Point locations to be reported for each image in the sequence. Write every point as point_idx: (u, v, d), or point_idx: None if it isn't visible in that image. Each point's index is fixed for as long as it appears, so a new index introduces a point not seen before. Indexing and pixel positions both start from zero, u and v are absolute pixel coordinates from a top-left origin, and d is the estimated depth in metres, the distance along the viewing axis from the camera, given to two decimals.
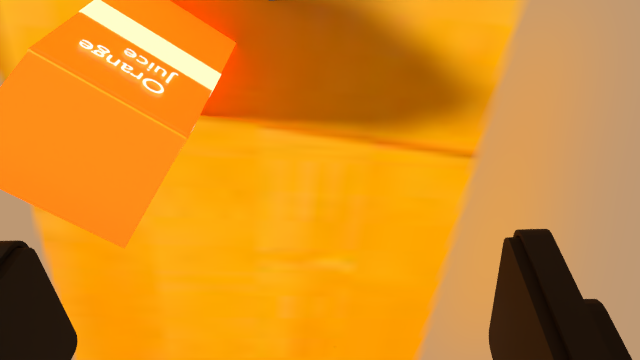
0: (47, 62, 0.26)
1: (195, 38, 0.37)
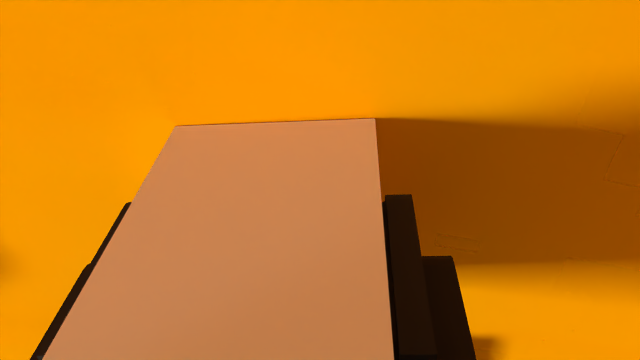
0: None
1: None
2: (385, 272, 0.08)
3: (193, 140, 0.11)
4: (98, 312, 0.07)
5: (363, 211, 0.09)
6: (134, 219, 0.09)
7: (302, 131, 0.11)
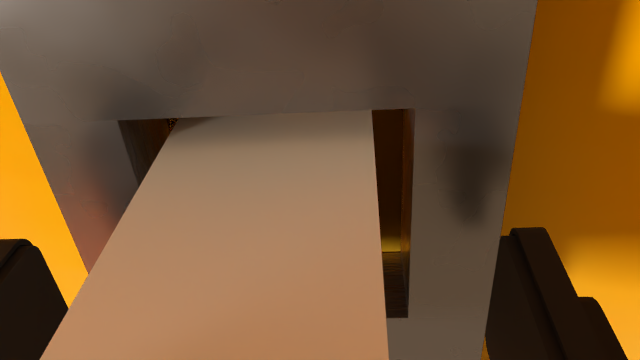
0: None
1: None
2: (376, 207, 0.09)
3: None
4: (132, 243, 0.09)
5: (359, 162, 0.10)
6: (157, 173, 0.10)
7: None
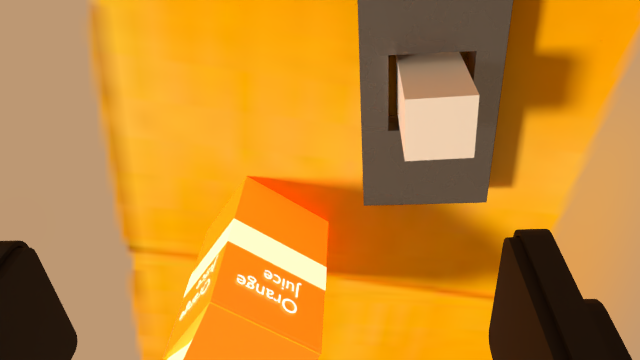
0: (222, 309, 0.34)
1: (302, 231, 0.45)
2: (469, 74, 0.35)
3: (404, 55, 0.39)
4: (408, 82, 0.35)
5: (461, 65, 0.36)
6: (402, 69, 0.36)
7: None
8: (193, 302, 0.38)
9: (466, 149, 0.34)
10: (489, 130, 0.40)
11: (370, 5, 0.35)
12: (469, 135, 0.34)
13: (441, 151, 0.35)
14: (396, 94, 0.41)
